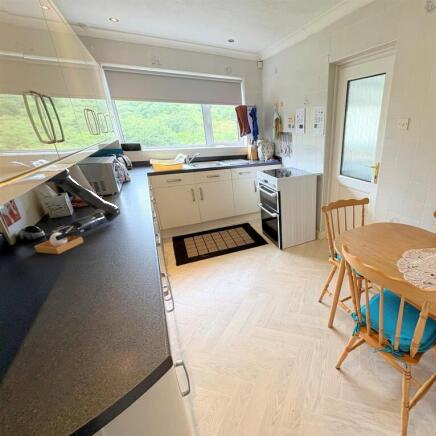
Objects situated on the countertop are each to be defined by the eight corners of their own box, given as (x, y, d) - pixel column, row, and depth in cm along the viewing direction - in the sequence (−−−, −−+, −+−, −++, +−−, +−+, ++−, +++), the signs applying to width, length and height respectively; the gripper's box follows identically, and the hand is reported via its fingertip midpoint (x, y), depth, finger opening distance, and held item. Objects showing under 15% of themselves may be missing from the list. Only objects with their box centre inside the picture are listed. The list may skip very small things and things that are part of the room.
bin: (37, 252, 110) (34, 246, 109) (64, 241, 121) (61, 235, 120) (58, 254, 109) (55, 248, 107) (84, 242, 120) (81, 236, 118)
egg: (63, 249, 113) (57, 235, 110) (49, 250, 112) (43, 236, 109) (72, 243, 118) (67, 229, 115) (59, 244, 117) (53, 230, 114)
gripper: (71, 217, 125) (35, 230, 110) (94, 218, 123) (60, 232, 108) (76, 229, 128) (41, 244, 113) (98, 231, 126) (66, 246, 111)
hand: (51, 238), depth 110 cm, fingers closed on egg, 5 cm apart
